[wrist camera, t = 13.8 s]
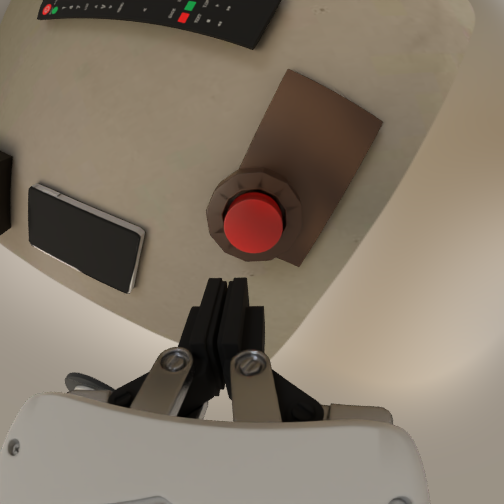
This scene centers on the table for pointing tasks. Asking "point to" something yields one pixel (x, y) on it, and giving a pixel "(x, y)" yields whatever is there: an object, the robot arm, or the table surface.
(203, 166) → the table surface
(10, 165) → the dimmer panel
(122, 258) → the smartphone
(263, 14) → the remote control
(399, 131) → the table surface
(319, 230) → the switch block
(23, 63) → the table surface
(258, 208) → the light button
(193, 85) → the table surface
